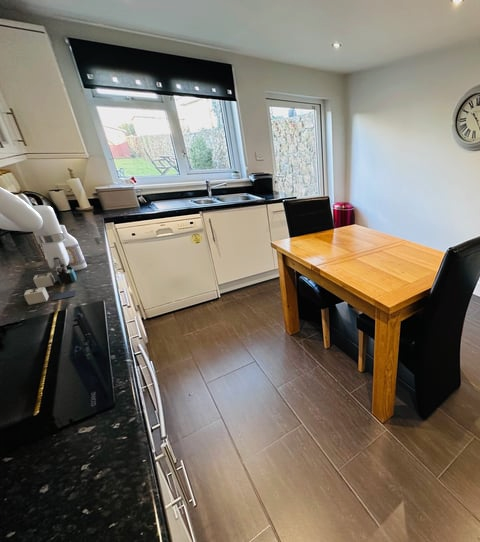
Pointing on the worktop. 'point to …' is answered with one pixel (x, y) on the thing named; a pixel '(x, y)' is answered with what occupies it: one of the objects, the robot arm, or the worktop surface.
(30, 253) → the worktop surface
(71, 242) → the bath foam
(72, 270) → the tile
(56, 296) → the slot pad
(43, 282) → the tile
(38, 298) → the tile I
